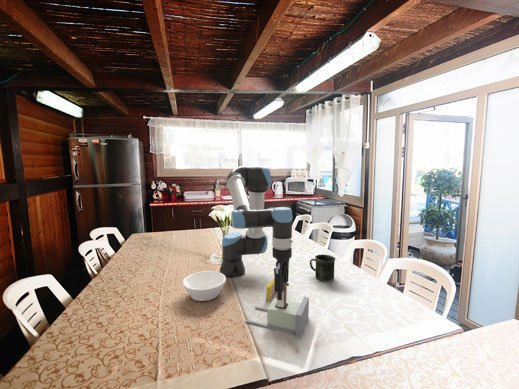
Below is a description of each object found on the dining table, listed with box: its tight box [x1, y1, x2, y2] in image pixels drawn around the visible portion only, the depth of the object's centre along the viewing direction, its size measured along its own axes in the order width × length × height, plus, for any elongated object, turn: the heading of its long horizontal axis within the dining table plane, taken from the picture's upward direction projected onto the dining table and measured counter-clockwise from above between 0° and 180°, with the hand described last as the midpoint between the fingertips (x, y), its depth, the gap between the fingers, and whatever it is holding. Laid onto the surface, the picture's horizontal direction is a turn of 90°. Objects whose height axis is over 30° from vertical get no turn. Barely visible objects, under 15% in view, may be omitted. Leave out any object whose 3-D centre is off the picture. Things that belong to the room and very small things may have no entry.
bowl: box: [182, 270, 227, 302], centre depth 128 cm, size 21×21×8 cm
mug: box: [309, 254, 336, 282], centre depth 147 cm, size 11×15×12 cm
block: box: [266, 297, 301, 333], centre depth 103 cm, size 12×9×7 cm
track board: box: [244, 295, 310, 339], centre depth 104 cm, size 24×14×10 cm, turn 68°
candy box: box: [265, 278, 277, 302], centre depth 127 cm, size 16×2×8 cm, turn 157°
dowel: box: [277, 281, 286, 309], centre depth 103 cm, size 4×4×14 cm
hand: (281, 303), depth 103 cm, fingers closed on dowel, 3 cm apart
